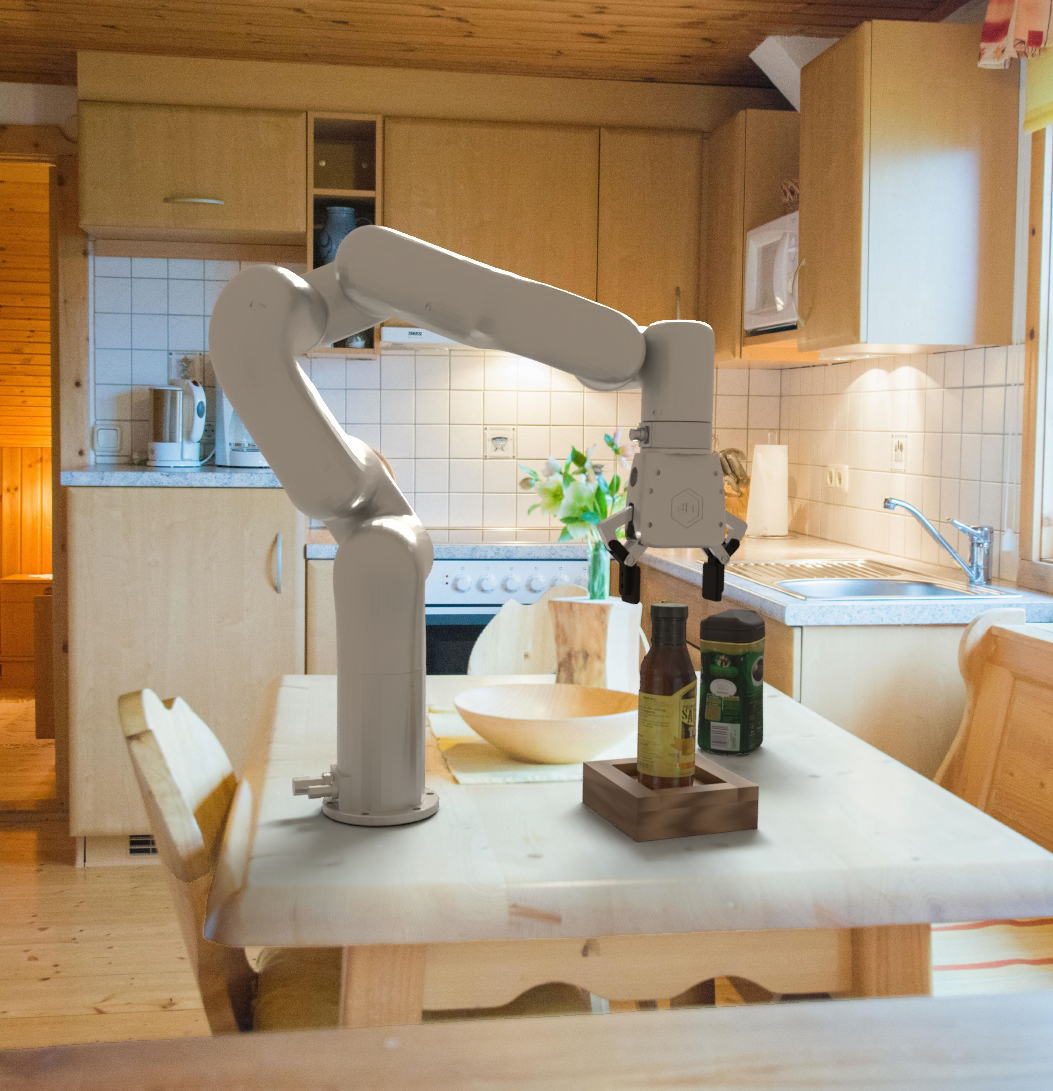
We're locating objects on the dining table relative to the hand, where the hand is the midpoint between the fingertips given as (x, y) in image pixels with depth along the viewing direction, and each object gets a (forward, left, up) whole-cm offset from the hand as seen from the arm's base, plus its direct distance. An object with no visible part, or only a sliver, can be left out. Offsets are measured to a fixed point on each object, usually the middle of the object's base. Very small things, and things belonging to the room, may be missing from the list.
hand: (671, 601), depth 121 cm
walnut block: (0, 0, -23) cm, 23 cm away
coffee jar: (+21, +23, -24) cm, 39 cm away
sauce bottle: (0, 0, -20) cm, 20 cm away
